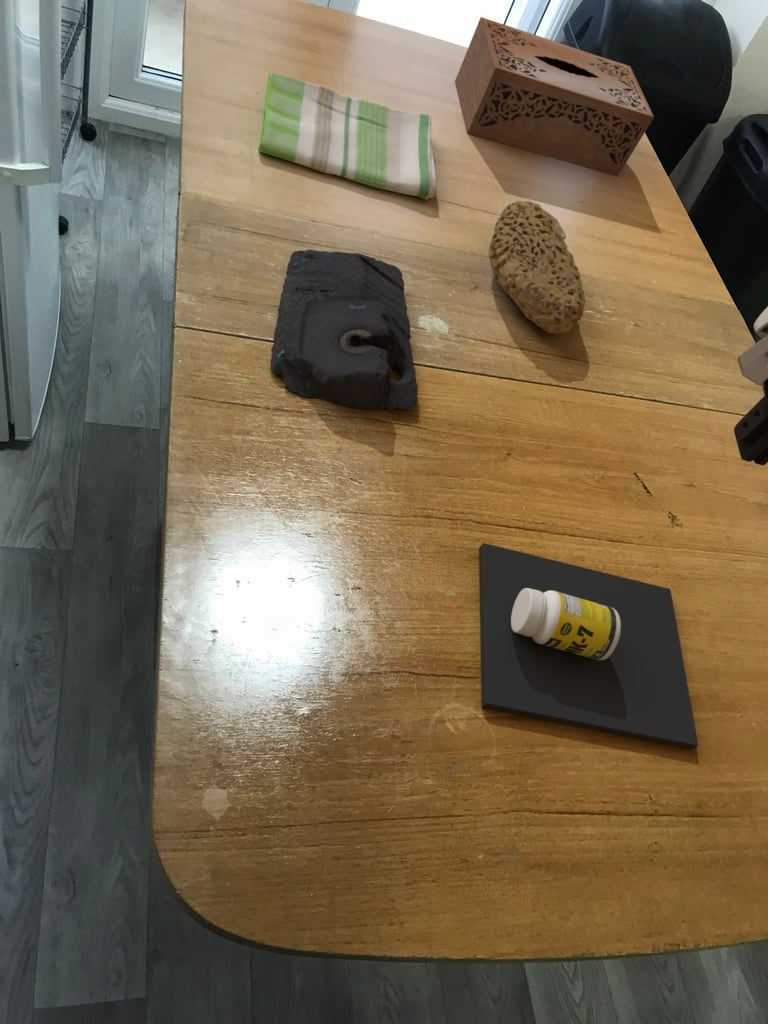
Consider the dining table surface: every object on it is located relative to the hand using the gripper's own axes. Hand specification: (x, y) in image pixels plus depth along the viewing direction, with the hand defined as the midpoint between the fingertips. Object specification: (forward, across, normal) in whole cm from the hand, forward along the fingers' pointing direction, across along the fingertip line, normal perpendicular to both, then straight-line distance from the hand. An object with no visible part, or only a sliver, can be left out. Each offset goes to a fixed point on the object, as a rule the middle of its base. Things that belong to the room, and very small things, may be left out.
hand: (747, 447), depth 59 cm
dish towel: (+25, +27, -65) cm, 75 cm away
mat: (+25, 0, +3) cm, 25 cm away
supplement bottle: (+22, -1, +4) cm, 22 cm away
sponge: (+25, +2, -47) cm, 53 cm away
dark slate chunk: (+25, +24, -29) cm, 45 cm away
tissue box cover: (+25, -2, -88) cm, 91 cm away
